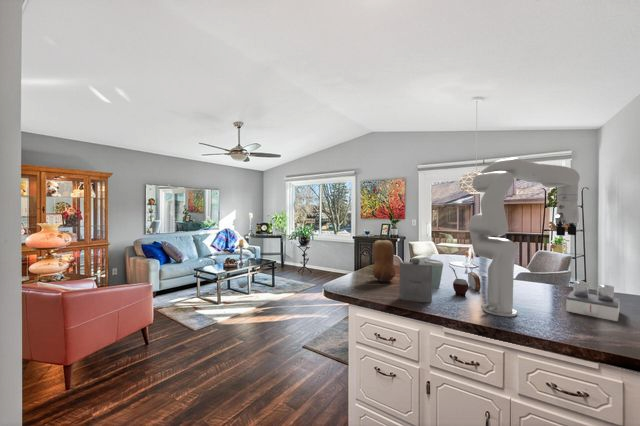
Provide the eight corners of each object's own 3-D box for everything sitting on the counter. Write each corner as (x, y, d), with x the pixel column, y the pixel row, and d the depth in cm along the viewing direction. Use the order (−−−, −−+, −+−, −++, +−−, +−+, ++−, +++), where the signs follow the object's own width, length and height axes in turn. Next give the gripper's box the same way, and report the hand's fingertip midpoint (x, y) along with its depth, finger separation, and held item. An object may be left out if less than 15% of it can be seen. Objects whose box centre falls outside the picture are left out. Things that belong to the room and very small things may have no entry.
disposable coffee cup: (444, 286, 171) (445, 259, 171) (441, 290, 162) (441, 262, 162) (425, 283, 177) (426, 258, 176) (421, 287, 168) (421, 260, 167)
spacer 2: (610, 302, 125) (610, 287, 124) (595, 299, 129) (595, 285, 129) (615, 300, 127) (616, 286, 127) (600, 297, 131) (600, 283, 131)
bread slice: (481, 292, 159) (481, 276, 159) (474, 292, 160) (475, 276, 159) (472, 285, 174) (472, 270, 174) (466, 285, 174) (467, 270, 174)
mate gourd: (471, 296, 151) (471, 267, 150) (459, 298, 148) (459, 268, 148) (459, 292, 158) (459, 264, 157) (447, 294, 155) (448, 265, 154)
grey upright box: (398, 299, 145) (399, 258, 144) (399, 296, 150) (400, 256, 150) (431, 303, 139) (432, 260, 139) (431, 300, 145) (432, 258, 145)
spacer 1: (584, 298, 130) (585, 284, 130) (571, 295, 135) (571, 281, 135) (590, 296, 132) (590, 283, 132) (576, 293, 137) (577, 280, 137)
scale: (617, 322, 119) (618, 306, 119) (565, 311, 130) (566, 297, 130) (619, 312, 131) (619, 298, 130) (571, 303, 142) (571, 290, 142)
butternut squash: (382, 277, 190) (382, 238, 189) (400, 282, 179) (400, 240, 179) (367, 281, 181) (368, 239, 180) (385, 285, 170) (386, 241, 170)
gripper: (566, 198, 133) (565, 236, 133) (586, 198, 141) (585, 235, 141) (547, 198, 140) (546, 235, 140) (567, 199, 147) (566, 234, 148)
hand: (566, 235), depth 141 cm, fingers open, 9 cm apart
